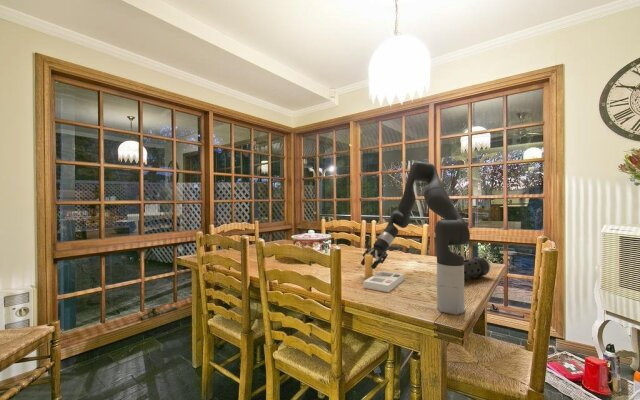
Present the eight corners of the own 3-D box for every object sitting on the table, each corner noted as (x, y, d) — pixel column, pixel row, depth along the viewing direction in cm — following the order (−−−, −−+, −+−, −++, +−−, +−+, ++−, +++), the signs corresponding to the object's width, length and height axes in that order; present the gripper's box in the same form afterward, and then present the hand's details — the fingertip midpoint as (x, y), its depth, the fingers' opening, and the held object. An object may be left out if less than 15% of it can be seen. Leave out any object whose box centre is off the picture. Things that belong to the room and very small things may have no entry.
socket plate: (388, 292, 124) (388, 284, 124) (363, 287, 131) (363, 280, 131) (403, 279, 142) (403, 273, 142) (381, 276, 149) (381, 270, 149)
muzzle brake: (437, 281, 139) (437, 260, 139) (474, 274, 152) (474, 255, 152) (454, 287, 131) (454, 264, 131) (492, 278, 143) (492, 258, 143)
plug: (370, 280, 143) (370, 256, 142) (363, 278, 145) (363, 255, 145) (373, 278, 146) (373, 255, 146) (366, 276, 148) (366, 254, 148)
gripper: (371, 236, 155) (354, 259, 150) (389, 239, 143) (372, 264, 137) (378, 244, 158) (362, 267, 152) (397, 248, 146) (380, 274, 140)
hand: (367, 266), depth 145 cm, fingers open, 8 cm apart
